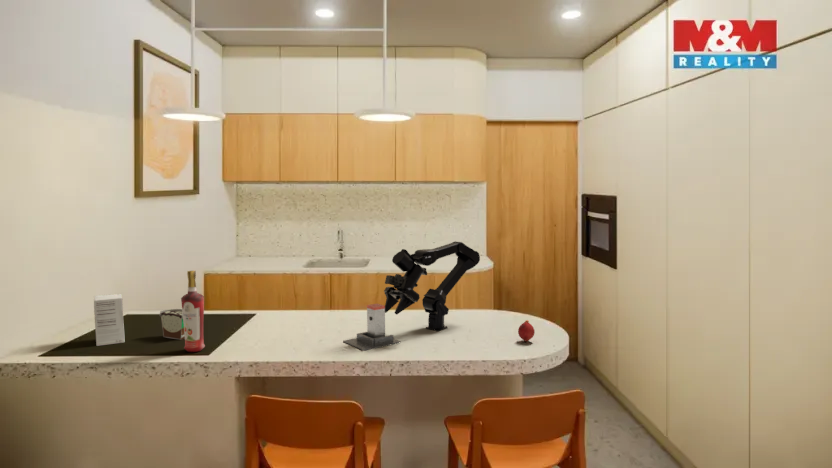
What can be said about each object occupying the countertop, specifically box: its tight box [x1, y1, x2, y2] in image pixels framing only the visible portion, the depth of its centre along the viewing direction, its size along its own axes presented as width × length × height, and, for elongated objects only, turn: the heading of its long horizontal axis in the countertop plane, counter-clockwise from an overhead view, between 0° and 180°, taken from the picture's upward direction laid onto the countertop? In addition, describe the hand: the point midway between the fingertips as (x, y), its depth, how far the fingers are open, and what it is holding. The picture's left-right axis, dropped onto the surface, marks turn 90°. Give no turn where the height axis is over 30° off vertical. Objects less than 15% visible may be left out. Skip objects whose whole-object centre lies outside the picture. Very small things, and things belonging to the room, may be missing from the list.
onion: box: [517, 319, 535, 342], centre depth 199 cm, size 6×6×8 cm
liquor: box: [180, 270, 206, 353], centre depth 190 cm, size 7×7×28 cm
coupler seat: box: [342, 331, 401, 352], centre depth 200 cm, size 16×14×3 cm
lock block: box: [366, 303, 386, 339], centre depth 201 cm, size 5×5×13 cm
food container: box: [159, 308, 185, 341], centre depth 209 cm, size 12×6×10 cm, turn 65°
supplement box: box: [93, 293, 126, 347], centre depth 202 cm, size 10×9×17 cm
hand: (389, 313), depth 204 cm, fingers open, 9 cm apart
